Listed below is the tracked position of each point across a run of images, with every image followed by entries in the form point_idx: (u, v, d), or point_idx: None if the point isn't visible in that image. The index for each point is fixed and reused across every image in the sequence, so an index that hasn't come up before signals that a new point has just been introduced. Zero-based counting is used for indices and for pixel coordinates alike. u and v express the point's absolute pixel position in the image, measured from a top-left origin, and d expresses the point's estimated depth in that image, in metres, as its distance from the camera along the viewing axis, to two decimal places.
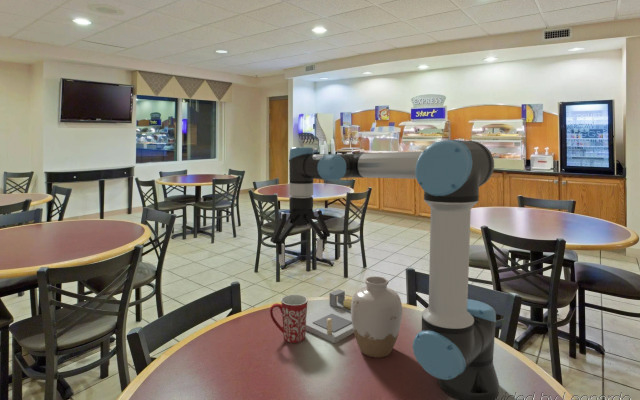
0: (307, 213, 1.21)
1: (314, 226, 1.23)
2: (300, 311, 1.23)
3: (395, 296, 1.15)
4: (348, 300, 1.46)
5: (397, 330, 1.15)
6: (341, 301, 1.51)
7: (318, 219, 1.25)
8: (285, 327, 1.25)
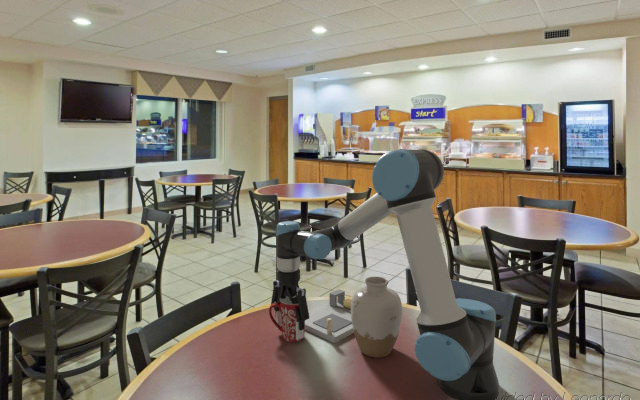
0: (289, 286, 1.24)
1: (293, 303, 1.23)
2: None
3: (395, 296, 1.15)
4: (348, 300, 1.46)
5: (397, 330, 1.15)
6: (341, 301, 1.51)
7: None
8: (284, 326, 1.25)
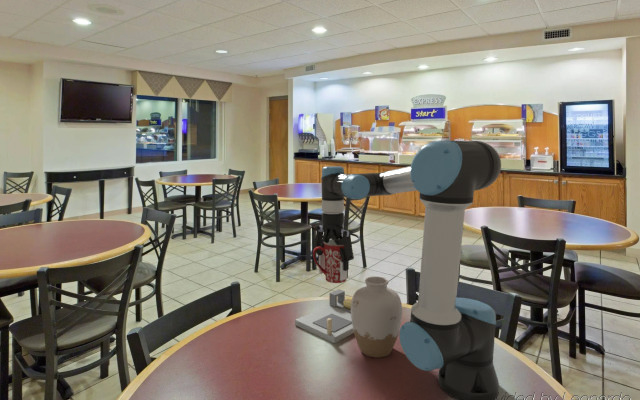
0: (334, 228, 1.28)
1: (337, 244, 1.27)
2: None
3: (395, 296, 1.15)
4: (348, 300, 1.46)
5: (397, 330, 1.15)
6: (341, 301, 1.51)
7: None
8: (328, 268, 1.29)
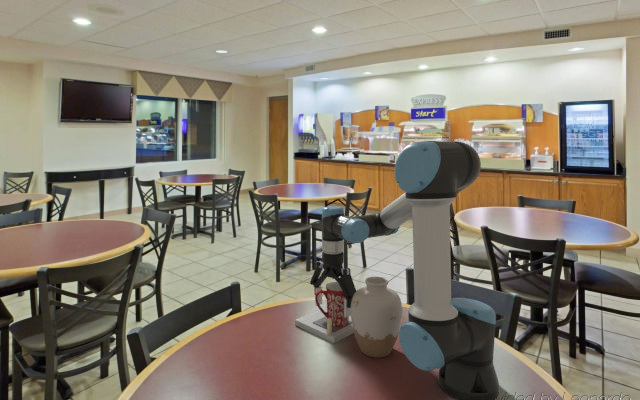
0: (334, 268, 1.30)
1: (339, 283, 1.28)
2: None
3: (395, 296, 1.15)
4: None
5: (397, 330, 1.15)
6: None
7: None
8: (330, 312, 1.30)
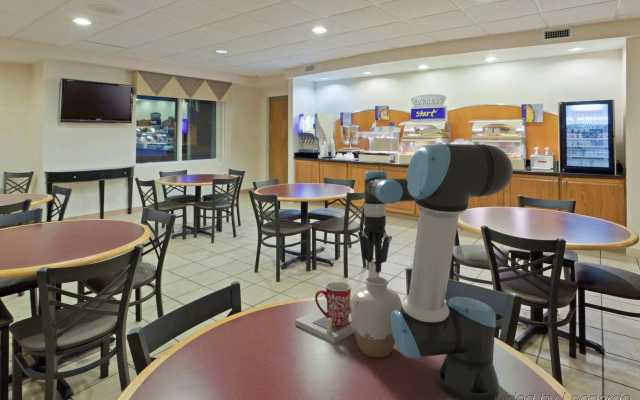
0: (377, 229, 1.31)
1: (375, 247, 1.33)
2: (346, 296, 1.29)
3: (395, 296, 1.15)
4: None
5: None
6: None
7: None
8: (330, 312, 1.30)
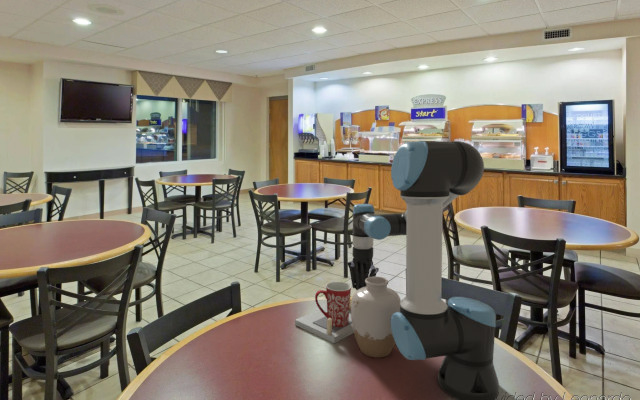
0: (365, 260, 1.37)
1: (363, 277, 1.38)
2: (346, 296, 1.29)
3: (395, 296, 1.15)
4: None
5: None
6: None
7: None
8: (330, 312, 1.30)
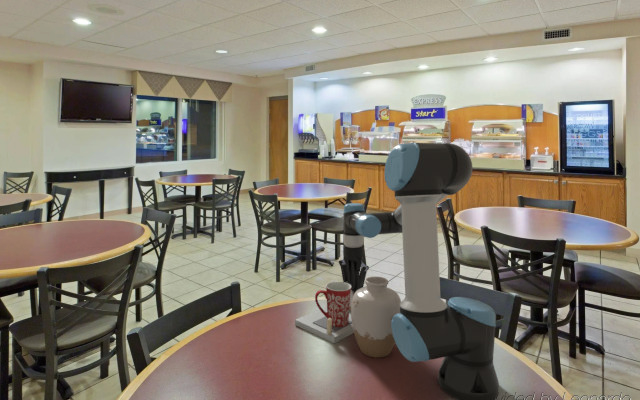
0: (356, 259, 1.40)
1: (353, 275, 1.41)
2: (346, 296, 1.29)
3: (395, 296, 1.15)
4: None
5: None
6: None
7: None
8: (330, 312, 1.30)
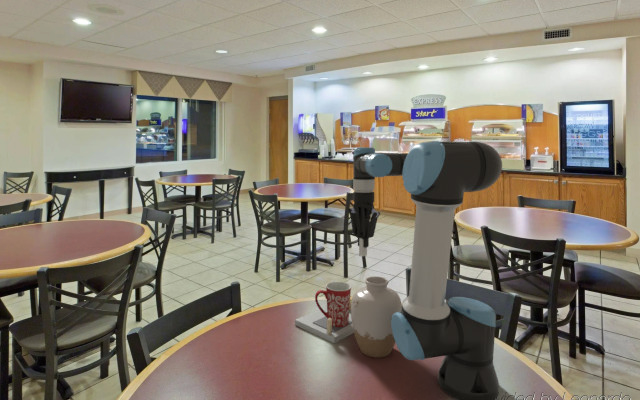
0: (366, 205, 1.34)
1: (364, 222, 1.35)
2: (346, 296, 1.29)
3: (395, 296, 1.15)
4: None
5: None
6: None
7: None
8: (330, 312, 1.30)
